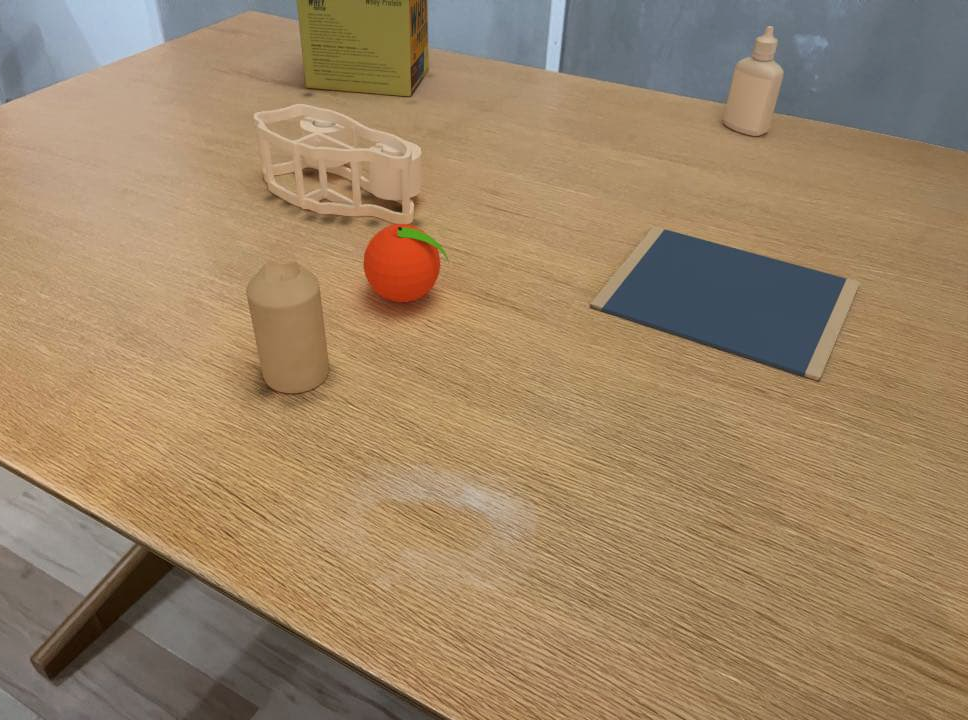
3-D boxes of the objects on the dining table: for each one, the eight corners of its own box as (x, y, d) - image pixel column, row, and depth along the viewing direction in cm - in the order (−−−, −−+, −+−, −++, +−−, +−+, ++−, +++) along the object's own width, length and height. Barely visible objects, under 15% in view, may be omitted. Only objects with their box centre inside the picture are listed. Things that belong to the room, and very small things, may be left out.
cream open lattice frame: (443, 205, 89) (443, 140, 84) (369, 245, 83) (364, 177, 78) (322, 150, 99) (316, 89, 94) (248, 182, 93) (238, 119, 88)
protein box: (412, 97, 111) (409, -29, 100) (304, 88, 113) (290, -35, 103) (430, 69, 118) (429, -51, 108) (328, 62, 121) (317, -56, 110)
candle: (249, 372, 68) (228, 270, 61) (302, 343, 71) (287, 242, 64) (290, 403, 65) (272, 299, 58) (343, 372, 68) (332, 269, 61)
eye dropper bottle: (738, 139, 100) (764, 36, 92) (718, 120, 104) (741, 20, 96) (771, 136, 100) (800, 33, 92) (750, 117, 104) (776, 17, 96)
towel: (859, 285, 76) (860, 281, 76) (818, 381, 66) (820, 377, 66) (653, 229, 84) (653, 225, 84) (589, 307, 74) (590, 303, 74)
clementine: (461, 284, 77) (462, 216, 73) (436, 326, 72) (436, 256, 68) (382, 269, 79) (378, 202, 75) (353, 309, 75) (347, 240, 70)
